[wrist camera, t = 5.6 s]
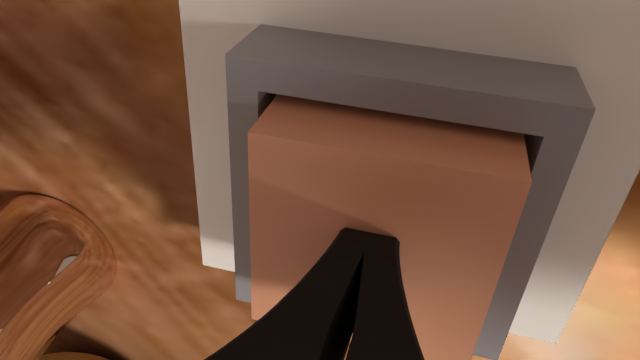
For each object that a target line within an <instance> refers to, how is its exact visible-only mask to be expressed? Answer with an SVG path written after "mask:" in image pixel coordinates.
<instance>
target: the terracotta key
mask: <svg viewBox="0 0 640 360" xmlns="http://www.w3.org/2000/svg"><path fill="white" fill-rule="evenodd" d="M248 172H249V217H250V261H251V305H252V319H255V320H259V319H260V318H261V317H263V316H264V315H265V314H266V313H267V312H268V311H269V310H271V309H272V308H273V307H274V306H275V305H276V304H277V303H278V302H279V301H280V300H281V299H282V298H283V297H284V296H285V295H286V294H287V293H288V292H289V291H290V290H291V289H292V288H293V287H295V286H296V285H297V283H298V282H299V281H300V280H301V279H302V278H303V277H304V276H305V275H306V274H307V273H308V271H309V270H310V269H311V268H312V267H313V266H314V265H315V264H316V262H317V261H318V260H319V259H320V258H321V256H322V255H323V254H324V253H325V251H326V250H327V249H328V248H329V246H330V245H331V243H332V242H333V241H334V239H335V238H336V236H337V235H338V233H339V231H340V230H342V229H343V228H345V227H346V228H351V229H356V230H361V231H366V232H371V233H376V234H381V235H386V236H391V237H396V238H397V239H398V241H399V242H400V248H399V255H400V267H401V274H402V281H403V286H404V291H405V295H406V299H407V304H408V308H409V312H410V316H411V319H412V323H413V326H414V329H415V333H416V336H417V339H418V342H419V345H420V348H421V351H422V354H423V356H424V359H425V360H471V358H472V355H473V352H474V349H475V346H476V343H477V340H478V337H479V334H480V332H481V329H482V326H483V323H484V320H485V317H486V314H487V311H488V308H489V306H490V303H491V300H492V297H493V294H494V291H495V288H496V285H497V282H498V280H499V277H500V274H501V271H502V268H503V265H504V262H505V259H506V256H507V254H508V251H509V248H510V245H511V242H512V239H513V236H514V233H515V230H516V228H517V225H518V222H519V219H520V216H521V213H522V210H523V207H524V204H525V202H526V199H527V196H528V193H529V190H530V187H531V184H532V178H531V173H530V167H529V161H528V155H527V150H526V144H525V138H524V134H523V133H517V132H511V131H504V130H498V129H492V128H486V127H479V126H473V125H467V124H461V123H454V122H448V121H442V120H436V119H429V118H423V117H417V116H411V115H404V114H398V113H392V112H386V111H380V110H373V109H367V108H361V107H355V106H348V105H342V104H336V103H330V102H323V101H317V100H311V99H305V98H298V97H292V96H286V95H280V94H277V95H276V97H275V98H274V99H273V101H272V102H271V103H270V104H269V106H268V107H267V108H266V109H265V111H264V112H263V113H262V115H261V116H260V117H259V118H258V120H257V121H256V122H255V124H254V125H253V126H252V127H251V129H250V130H249V131H248ZM352 335H353V333H352ZM351 339H352V336H351ZM351 339H350V342H351Z"/></svg>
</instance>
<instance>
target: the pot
mask: <svg viewBox="0 0 640 360" xmlns="http://www.w3.org/2000/svg"><path fill="white" fill-rule="evenodd" d="M40 360H109V359H106V358H104V357H101V356H97V355H92V354H88V353H78V352H58V353H51V354H44V355H42V357H41V358H40Z"/></svg>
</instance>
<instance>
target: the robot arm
mask: <svg viewBox="0 0 640 360" xmlns="http://www.w3.org/2000/svg"><path fill="white" fill-rule="evenodd" d="M399 248H400V242H399V241H398V239H397V238H396V237H391V236H386V235H381V234H376V233H371V232H366V231H361V230H356V229H351V228H346V227H345V228H343V229H342V230H340V231H339V233H338V235H337V236H336V238H335V239H334V241H333V242H332V243H331V245H330V246H329V248H328V249H327V250H326V251H325V253H324V254H323V255H322V256H321V258H320V259H319V260H318V261H317V262H316V264H315V265H314V266H313V267H312V268H311V269H310V270H309V271H308V273H307V274H306V275H305V276H304V277H303V278H302V279H301V280H300V281H299V282H298V283H297V285H296V286H295V287H293V288H292V289H291V290H290V291H289V292H288V293H287V294H286V295H285V296H284V297H283V298H282V299H281V300H280V301H279V302H278V303H277V304H276V305H275V306H274V307H273V308H272V309H271V310H269V311H268V312H267V313H266V314H265V315H264V316H263V317H261V318H260V319H259V320H258V321H257V322H255V323H254V324H253V325H252V326H250V327H249V328H248V329H247V330H245V331H244V332H243V333H241V334H240V335H239V336H237V337H236V338H235V339H233V340H232V341H231V342H229V343H228V344H227V345H225V346H224V347H222V348H221V349H220V350H218V351H217V352H215V353H214V354H212V355H211V356H209V357H208V358H206V359H204V360H344V357H345V354H346V351H347V348H348V345H349V342H350V339H351V336H352V339H351V342H350V346H349V350H348V354H347V358H346V360H425V359H424V356H423V354H422V351H421V348H420V345H419V342H418V339H417V336H416V333H415V329H414V326H413V323H412V319H411V316H410V312H409V308H408V304H407V299H406V295H405V291H404V286H403V281H402V274H401V267H400V255H399ZM352 333H353V335H352Z"/></svg>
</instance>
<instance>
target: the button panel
mask: <svg viewBox="0 0 640 360" xmlns="http://www.w3.org/2000/svg"><path fill="white" fill-rule="evenodd" d="M179 10H180V20H181V31H182V42H183V53H184V64H185V75H186V86H187V96H188V107H189V118H190V129H191V140H192V151H193V162H194V173H195V183H196V194H197V205H198V216H199V227H200V238H201V249H202V259H203V265H207V266H211V267H216V268H220V269H224V270H229V271H233V272H235V283H236V300H241V301H245V302H249V303H251V261H250V217H249V172H248V131H249V130H250V129H251V127H252V126H253V125H254V124H255V122H256V121H257V120H258V118H259V117H260V116H261V115H262V113H263V112H264V111H265V109H266V108H267V107H268V106H269V104H270V103H271V102H272V101H273V99H274V98H275V97H276V95H277V94H280V95H286V96H292V97H298V98H305V99H311V100H317V101H323V102H330V103H336V104H342V105H348V106H355V107H361V108H367V109H373V110H380V111H386V112H392V113H398V114H404V115H411V116H417V117H423V118H429V119H436V120H442V121H448V122H454V123H461V124H467V125H473V126H479V127H486V128H492V129H498V130H504V131H511V132H517V133H523V134H524V138H525V144H526V150H527V155H528V161H529V167H530V173H531V178H532V184H531V187H530V190H529V193H528V196H527V199H526V202H525V204H524V207H523V210H522V213H521V216H520V219H519V222H518V225H517V228H516V230H515V233H514V236H513V239H512V242H511V245H510V248H509V251H508V254H507V256H506V259H505V262H504V265H503V268H502V271H501V274H500V277H499V280H498V282H497V285H496V288H495V291H494V294H493V297H492V300H491V303H490V306H489V308H488V311H487V314H486V317H485V320H484V323H483V326H482V329H481V332H480V334H479V337H478V340H477V343H476V346H475V349H474V352H473V355H476V356H480V357H484V358H488V359H493V360H498V358H499V355H500V353H501V350H502V347H503V345H504V342H505V340H506V337H507V335H508V333H509V334H514V335H518V336H523V337H527V338H532V339H536V340H541V341H545V342H550V343H554V344H557V342H558V340H559V338H560V335H561V333H562V331H563V329H564V327H565V325H566V323H567V321H568V319H569V317H570V315H571V312H572V310H573V308H574V306H575V304H576V302H577V300H578V298H579V296H580V294H581V292H582V289H583V287H584V285H585V283H586V281H587V279H588V277H589V275H590V273H591V271H592V269H593V266H594V264H595V262H596V260H597V258H598V256H599V254H600V252H601V250H602V248H603V246H604V243H605V241H606V239H607V237H608V235H609V233H610V231H611V229H612V227H613V225H614V223H615V220H616V218H617V216H618V214H619V212H620V210H621V208H622V206H623V204H624V202H625V200H626V197H627V195H628V193H629V191H630V189H631V187H632V185H633V183H634V181H635V179H636V177H637V174H638V172H639V170H640V0H179Z"/></svg>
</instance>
